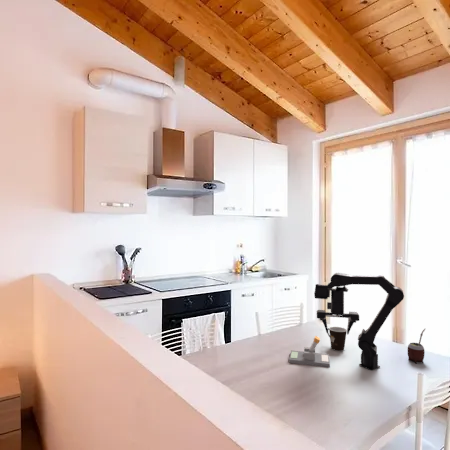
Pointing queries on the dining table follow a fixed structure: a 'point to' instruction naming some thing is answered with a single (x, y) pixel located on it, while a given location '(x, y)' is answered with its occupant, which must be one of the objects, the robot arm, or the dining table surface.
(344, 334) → the coffee mug
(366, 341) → the robot arm
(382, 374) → the dining table surface
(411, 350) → the mate gourd
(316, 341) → the lever
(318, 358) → the switch panel
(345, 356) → the dining table surface
